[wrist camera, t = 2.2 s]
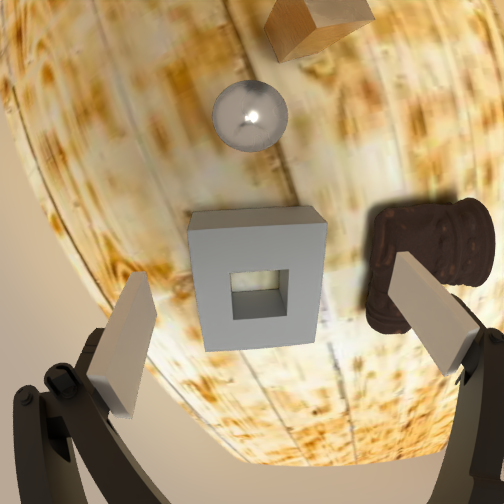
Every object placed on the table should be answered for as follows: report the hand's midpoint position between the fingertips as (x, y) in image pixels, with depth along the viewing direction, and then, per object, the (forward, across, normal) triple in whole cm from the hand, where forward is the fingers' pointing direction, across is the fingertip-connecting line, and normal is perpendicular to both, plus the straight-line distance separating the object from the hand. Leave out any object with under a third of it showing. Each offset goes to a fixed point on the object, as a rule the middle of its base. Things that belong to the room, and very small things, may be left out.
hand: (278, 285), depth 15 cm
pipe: (+16, +20, -8) cm, 27 cm away
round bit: (+16, -1, +8) cm, 18 cm away
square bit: (+16, +4, +16) cm, 23 cm away
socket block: (+15, 0, -8) cm, 17 cm away
